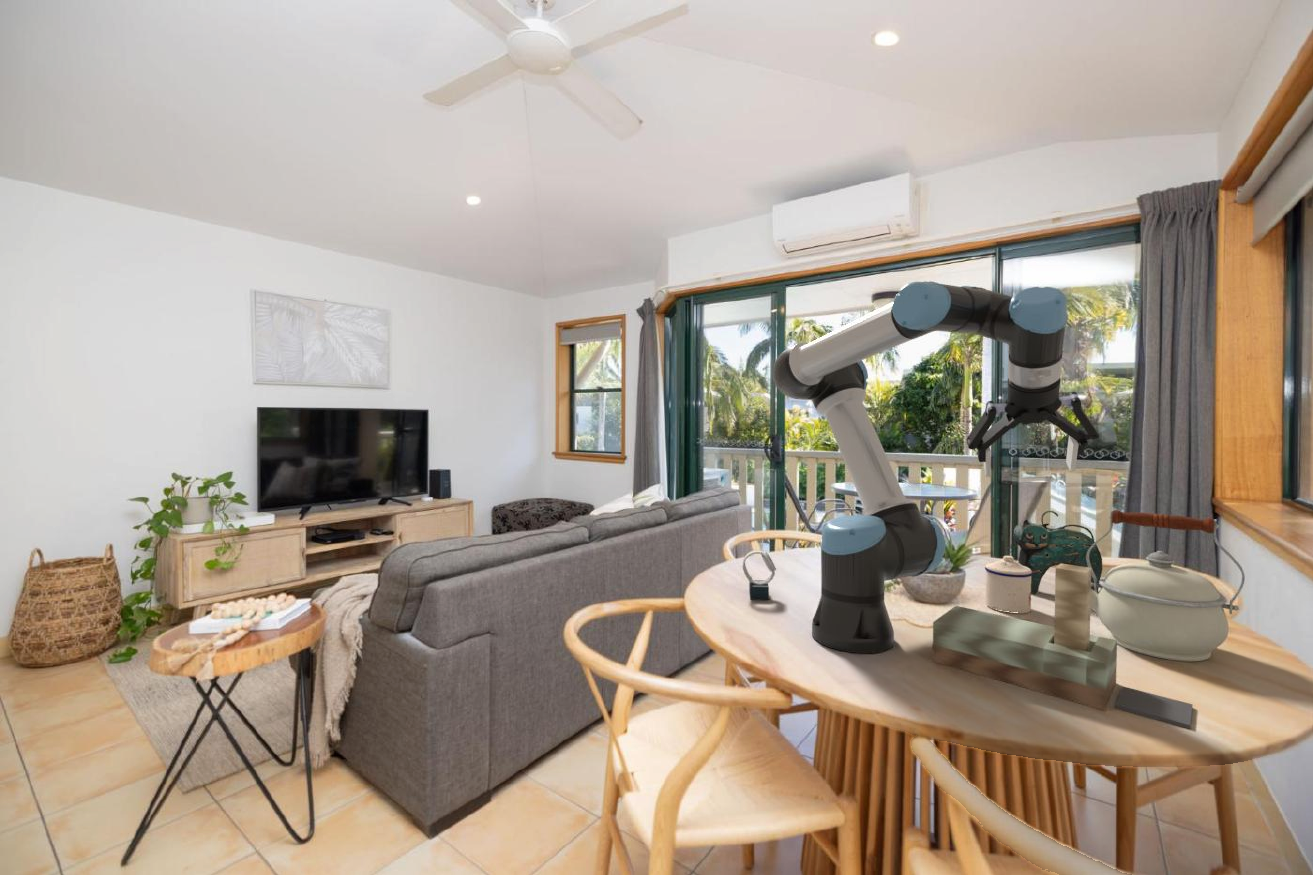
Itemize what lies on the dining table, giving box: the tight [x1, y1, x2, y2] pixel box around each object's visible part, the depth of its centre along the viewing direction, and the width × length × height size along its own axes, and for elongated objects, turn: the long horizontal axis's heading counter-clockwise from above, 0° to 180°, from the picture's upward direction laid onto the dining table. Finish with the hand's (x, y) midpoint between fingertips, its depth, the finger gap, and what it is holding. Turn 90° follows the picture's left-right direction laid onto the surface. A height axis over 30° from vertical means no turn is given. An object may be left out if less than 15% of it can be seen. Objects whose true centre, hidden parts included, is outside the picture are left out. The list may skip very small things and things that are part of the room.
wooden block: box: [1054, 563, 1091, 652], centre depth 90 cm, size 4×4×16 cm
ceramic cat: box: [1012, 510, 1103, 594], centre depth 139 cm, size 20×6×20 cm, turn 88°
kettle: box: [1086, 509, 1246, 663], centre depth 106 cm, size 25×18×25 cm
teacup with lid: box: [984, 555, 1033, 614], centre depth 128 cm, size 12×9×12 cm
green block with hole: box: [932, 605, 1118, 711], centre depth 95 cm, size 24×12×7 cm, turn 45°
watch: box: [742, 549, 777, 601], centre depth 136 cm, size 6×8×11 cm
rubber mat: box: [1115, 686, 1193, 730], centre depth 83 cm, size 8×8×1 cm
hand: (1027, 469), depth 108 cm, fingers open, 13 cm apart
